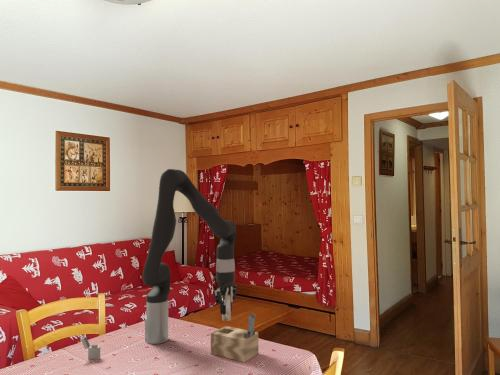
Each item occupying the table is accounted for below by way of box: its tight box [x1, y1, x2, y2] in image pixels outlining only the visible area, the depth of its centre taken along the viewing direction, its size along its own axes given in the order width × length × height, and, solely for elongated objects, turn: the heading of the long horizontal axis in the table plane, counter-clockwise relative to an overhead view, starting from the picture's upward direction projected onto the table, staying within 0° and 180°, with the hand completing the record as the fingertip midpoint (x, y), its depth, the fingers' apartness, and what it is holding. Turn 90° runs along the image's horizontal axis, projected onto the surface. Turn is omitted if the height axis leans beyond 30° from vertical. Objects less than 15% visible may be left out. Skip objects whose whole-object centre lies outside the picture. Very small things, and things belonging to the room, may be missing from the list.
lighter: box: [80, 336, 101, 360], centre depth 147 cm, size 7×2×8 cm, turn 85°
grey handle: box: [247, 313, 257, 336], centre depth 146 cm, size 8×4×1 cm
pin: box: [221, 295, 232, 322], centre depth 152 cm, size 3×3×10 cm
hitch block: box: [210, 325, 260, 363], centre depth 150 cm, size 16×10×10 cm, turn 57°
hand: (226, 312), depth 152 cm, fingers closed on pin, 3 cm apart
